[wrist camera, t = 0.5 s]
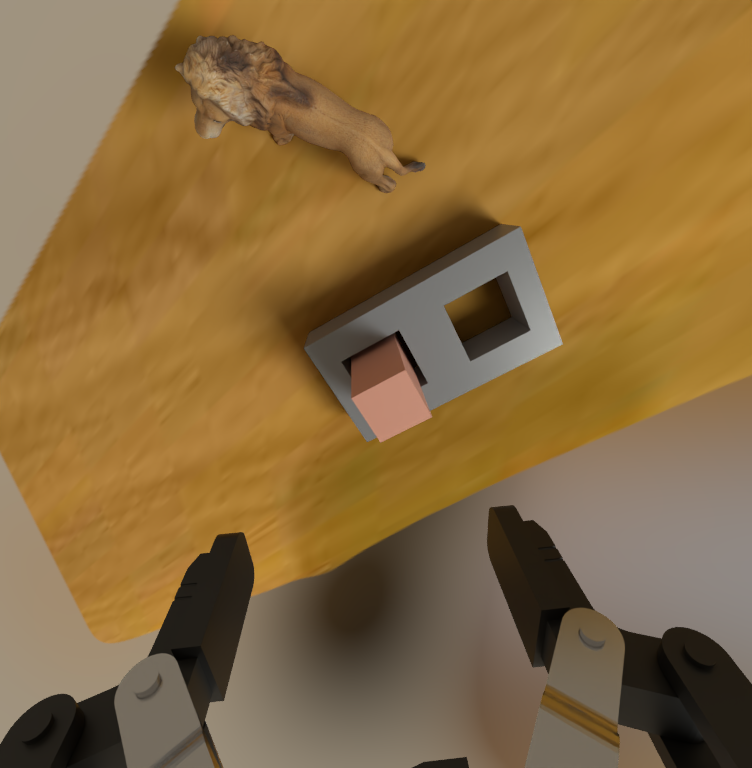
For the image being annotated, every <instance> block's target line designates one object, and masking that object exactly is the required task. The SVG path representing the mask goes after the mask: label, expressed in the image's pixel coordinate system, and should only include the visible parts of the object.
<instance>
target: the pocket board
mask: <svg viewBox="0 0 752 768" xmlns="http://www.w3.org/2000/svg"><path fill="white" fill-rule="evenodd" d="M494 278H496V279H497V282H498V284H499V287H500V289H501V292H502V294H503V297H504V299H505V301H506V304H507V306H508V309H509V311H510V314H511V316H512V317H511V318H509V319H507V320H505V321H503V322H501V323H500V324H498V325H496V326H494V327H492V328H490V329H488V330H486V331H484V332H482V333H480V334H479V335H477V336H475V337H473V338H471V339H469V340H467V341H465V342H463V343H461V341H460V339H459V337H458V335H457V333H456V331H455V328H454V326H453V324H452V322H451V320H450V318H449V316H448V314H447V312H446V310H445V308H444V305H446V304H448V303H450V302H452V301H453V300H455V299H457V298H459V297H461V296H463V295H464V294H466V293H468V292H470V291H472V290H474V289H475V288H477V287H479V286H481V285H483V284H485V283H486V282H488V281H490V280H492V279H494ZM398 330H399V331H400V333H401V335H402V336H403V338H404V340H405V342H406V344H407V345H408V347H409V349H410V351H411V353H412V355H413V356H414V358H415V360H416V362H417V364H418V366H417V367H415V368H414V370H415V373H416V376H417V378H418V381H419V384H420V386H421V389H422V392H423V394H424V397H425V400H426V402H427V405H428V407H429V410H432V409H434V408H436V407H438V406H440V405H442V404H444V403H446V402H448V401H450V400H452V399H454V398H456V397H458V396H460V395H462V394H464V393H466V392H468V391H470V390H472V389H474V388H476V387H478V386H480V385H482V384H484V383H486V382H488V381H490V380H492V379H494V378H496V377H498V376H500V375H502V374H504V373H506V372H508V371H510V370H512V369H514V368H516V367H518V366H520V365H522V364H524V363H526V362H528V361H530V360H532V359H534V358H536V357H538V356H540V355H542V354H544V353H546V352H548V351H550V350H552V349H554V348H556V347H558V346H560V345H562V344H563V343H562V340H561V338H560V335H559V332H558V329H557V326H556V324H555V321H554V318H553V315H552V313H551V310H550V307H549V304H548V301H547V299H546V296H545V293H544V290H543V287H542V285H541V282H540V279H539V276H538V273H537V271H536V268H535V265H534V262H533V260H532V257H531V254H530V251H529V248H528V246H527V243H526V240H525V237H524V234H523V232H522V229H521V227H520V226H513V225H505V224H500V225H498V226H496V227H495V228H493V229H491V230H489V231H488V232H486V233H484V234H482V235H481V236H479V237H477V238H475V239H473V240H472V241H470V242H468V243H466V244H465V245H463V246H461V247H459V248H458V249H456V250H454V251H452V252H451V253H449V254H447V255H445V256H443V257H442V258H440V259H438V260H436V261H435V262H433V263H431V264H429V265H428V266H426V267H424V268H422V269H421V270H419V271H417V272H415V273H413V274H412V275H410V276H408V277H406V278H405V279H403V280H401V281H399V282H398V283H396V284H394V285H392V286H391V287H389V288H387V289H385V290H383V291H382V292H380V293H378V294H376V295H375V296H373V297H371V298H369V299H368V300H366V301H364V302H362V303H361V304H359V305H357V306H355V307H354V308H352V309H350V310H348V311H346V312H345V313H343V314H341V315H339V316H338V317H336V318H334V319H332V320H331V321H329V322H327V323H325V324H324V325H322V326H320V327H318V328H316V329H315V330H313V331H311V332H309V334H308V337H307V340H306V343H305V346H304V349H305V351H306V352H307V354H308V355H309V357H310V358H311V360H312V361H313V363H314V364H315V366H316V367H317V369H318V370H319V372H320V373H321V375H322V376H323V377H324V379H325V380H326V382H327V383H328V385H329V386H330V388H331V389H332V391H333V392H334V394H335V395H336V397H337V398H338V400H339V401H340V403H341V404H342V406H343V407H344V409H345V410H346V411H347V413H348V414H349V416H350V417H351V419H352V420H353V422H354V423H355V425H356V426H357V428H358V429H359V431H360V432H361V434H362V435H363V437H364V438H365V440H366V441H367V442H368V441H370V440H372V439H374V438H376V435H375V434H374V432H373V431H372V429H371V427H370V426H369V424H368V423H367V421H366V420H365V418H364V417H363V415H362V414H361V412H360V411H359V409H358V408H357V406H356V405H355V403H354V402H353V400H352V399H351V359H350V357H351V356H352V355H354V354H356V353H358V352H360V351H362V350H363V349H365V348H367V347H369V346H371V345H373V344H374V343H376V342H378V341H380V340H382V339H384V338H385V337H387V336H389V335H391V334H393V333H395V332H396V331H398Z"/></svg>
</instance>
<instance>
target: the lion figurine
mask: <svg viewBox="0 0 752 768" xmlns="http://www.w3.org/2000/svg"><path fill="white" fill-rule="evenodd" d="M175 69H176V70H177V71H178V72H180V73H181V75H182V76H183V78H184V79H185V81H186V82H187V83H188V84H189V85H190V86H191V98H192V101H193V103H194V104H195V106H196V107H197V111H196V114H195V129H196V131H197V133H198V134H199V135H200V136H201V137H202V138H205V139H209V138H216V137H218V136H219V135H220V133H221V130H222V128H223V127H224V125H225V124H226V123H227V122H229V121H235V122H236V123H238V124H240V125H243V126H248V125H251V126H252V127H254V128H257V129H260V130H268V131H269V132H270V133H272V134H273V138H274V140H275V141H276V142H277V144H278V145H284V144H286V143H288V142H290V141H291V139H292V137H293V136H294V135H295V136H297V137H299V138H301V139H303V140H305V141H307V142H309V143H312V144H315V145H318V146H321V147H324V148H327V149H331V150H336V151H340V152H343V153H344V154H346V156H347V157H348V159H349V161H350V164H351V166H352V168H353V169H354V171H355V172H356V173H358V174H359V175H360V176H361V178H363V179H364V180H366V181H368V182H370V183H373V184H376V185H378V188H379V190H380V191H381V192H384V193H390V192H392V191H393V190H394V189H395V187H396V182H395V181H394V180H393V179H391V178H390V177H388V176H385V175H383V172H384V168H385V167H388V168H390V169H393V170H394V171H395V172H396V173H397V174H399V175H401V176H402V175H405V174H407V173H409V172H411V171H412V172H417V171H422V170H423V169H424V168H425V163H422V162H411V163H409V164H408V165H405V166H402V164H401V163H400V162H399V160H398V159H397V157H396V156H395V154H394V153H393V152H392V149H393V138H392V135H391V132H390V130H389V128H388V127H387V125H386V124H385V123H384V122H383V121H381V120H380V119H379V118H378V117H376V116H374V115H370V114H368V113H365V112H363V111H359V110H357V109H355V108H353V107H352V106H350V105H349V104H347V103H346V102H345V101H343V100H342V99H341V98H340V97H338V96H337V95H335V94H334V93H333V92H331V91H330V90H329V89H327V88H326V87H325V86H323V85H322V84H320V83H318V82H316V81H315V80H313V79H311V78H309V77H307V76H304V75H301V74H299V73H296V72H295V71H294V70H293V69H292V68H291V66H289V65H288V64H287V63H285V62H284V61H283V60H282V58H281V56H280V55H279V53H278V52H277V51H276V50H275V49H274V48H271V47H269V46H267V45H265V44H264V42H259V43H254V42H250V41H247V40H245V39H243V40H239V39H237V37H236V36H234V35H232V36H229V37H228V38H226V37H219V38H218V39H217V38H216V37H215V36H209V37H202V36H198V38H197V39H196V44H193V45H191V46H190V47H189V48H188V51H187V53H186V56H185V58H184V61H183V63H179V64H177V65H176V66H175Z"/></svg>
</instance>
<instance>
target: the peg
mask: <svg viewBox="0 0 752 768" xmlns="http://www.w3.org/2000/svg"><path fill="white" fill-rule="evenodd" d="M351 399H352V400H353V402H354V403H355V405H356V406H357V408H358V409H359V411H360V412H361V414H362V415H363V417H364V418H365V420H366V421H367V423H368V424H369V426H370V427H371V429H372V431H373V432H374V434H375V435H376V437H377V438H378V440H379V441H380V443H381V442H383V441H385V440H387V439H389V438H391V437H393V436H395V435H397V434H399V433H401V432H403V431H405V430H407V429H409V428H411V427H413V426H415V425H417V424H419V423H421V422H423V421H425V420H427V419H429V418H431V417H432V415H431V413H430V410H429V407H428V405H427V402H426V400H425V397H424V394H423V392H422V389H421V386H420V384H419V381H418V378H417V376H416V373H415V370H414V368H413V365H412V362H411V361H410V359H409V357H408V355H407V353H406V352H405V350H404V348H403V346H402V344H401V343H400V341H399V339H398V337H397V335H396V334H395V333H393V334H391V335H389V336H387V337H385V338H384V339H382V340H380V341H378V342H376V343H374V344H373V345H371V346H369V347H367V348H365V349H363V350H362V351H360V352H358V353H356V354H354V355H352V356H351Z"/></svg>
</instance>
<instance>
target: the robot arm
mask: <svg viewBox="0 0 752 768" xmlns="http://www.w3.org/2000/svg"><path fill="white" fill-rule="evenodd" d="M487 546H488V553H489V557H490V561H491V563H492V566H493V568H494V571H495V573H496V576H497V578H498V581H499V584H500V586H501V589H502V591H503V594H504V596H505V599H506V601H507V604H508V606H509V609H510V611H511V614H512V616H513V619H514V622H515V624H516V627H517V629H518V632H519V634H520V637H521V639H522V641H523V644H524V647H525V649H526V652H527V654H528V657H529V659H530V662H531V664H532V667H541V666H545V667H546V670H547V672H548V674H549V675H548V679H547V684H546V687H545V691H544V693H543V696H542V700H541V704H540V708H539V712H538V716H537V720H536V724H535V728H534V732H533V736H532V740H531V744H530V748H529V752H528V757H527V760H526V764H525V768H618V758H619V745H620V743H619V742H620V739H619V734H618V733H617V726H618V724H620V725H623V726H627V727H631V728H634V729H639V730H642V731H646V732H648V734H649V736H650V738H651V740H652V742H653V743H654V746H655V748H656V750H657V752H658V754H659V756H660V757H661V759H662V761H663V763H664V765H665V767H666V768H752V684H751V683H750V682H749V680H748V679H747V678H746V676H745V675H744V674H743V673H742V671H741V670H740V669H739V667H738V666H737V665H736V664H735V662H734V661H733V660H732V658H731V657H730V656H729V655H728V654H727V652H726V651H725V650H724V649H723V648H722V647H721V646H720V645H719V644H717V643H716V642H715V641H713V640H712V639H711V638H709V637H707V636H706V635H704V634H701V633H700V632H698V631H695V630H692V629H689V628H684V627H675V628H671V629H668V630H667V631H666V632H665V633H664V635H663V637H662V639H661V638H655V637H651V636H646V635H641V634H636V633H632V632H628V631H625V630H622V629H620V628H618V627H616V625H615V624H614V623H613V622H612V621H611V620H609V619H608V618H607V617H606V616H604V615H602V614H601V613H599V612H597V611H595V610H594V609H593V607H592V606H591V604H590V602H589V601H588V599H587V598H586V596H585V594H584V593H583V591H582V589H581V588H580V586H579V584H578V583H577V581H576V579H575V578H574V576H573V574H572V573H571V571H570V569H569V568H568V566H567V564H566V563H565V561H563V559H562V556H561V555H560V553H559V551H558V550H557V549H556V547H555V544H554V543H553V541H552V539H551V538H550V536H549V535H548V533H547V532H546V531H545V530H544V529H543V528H542V527H541V526H539V525H538V524H537V523H536V522H535V521H533V520H531V521H523V520H522V518H521V517H520V515H519V513H518V511H517V509H516V508H515V507H514V506H513V505H510V506H500V507H491V508H490V509H489V519H488V535H487ZM253 584H254V566H253V562H252V559H251V555H250V552H249V548H248V545H247V542H246V538H245V535H244V533H242V532H239V533H229V534H219V535H218V536H217V537H216V539H215V541H214V543H213V546H212V548H211V551H210V553H203V554H200V555H199V556H198V557H197V558H196V560H195V561H194V562H193V563H192V564H191V565H190V566H189V568H188V569H187V571H186V573H185V576H184V578H183V580H182V582H181V587H180V588H179V589H178V591H177V593H176V596H175V600H174V601H173V602H172V605H171V607H170V609H169V611H168V614H167V616H166V618H165V620H164V623H163V625H162V627H161V629H160V631H159V634H158V636H157V638H156V640H155V643H154V645H153V647H152V649H151V652H150V653H149V656H148V657H147V658H145V659H144V660H142V661H140V662H139V663H138V664H136V665H135V666H134V667H133V668H132V669H131V670H130V671H129V672H128V673H127V674H126V675H125V677H124V678H123V679H122V681H121V683H120V684H119V685H118V686H116V687H113V688H111V689H109V690H107V691H105V692H102V693H100V694H98V695H95V696H93V697H91V698H88V699H86V700H84V701H81V702H79V703H76V701H75V700H74V699H73V698H72V697H71V696H70V695H67V694H57V695H53V696H51V697H48V698H46V699H44V700H42V701H40V702H38V703H37V704H35V705H34V706H33V707H31V708H30V709H29V710H27V711H26V712H25V713H24V714H23V715H22V716H21V717H20V718H19V719H18V720H17V721H16V722H15V723H14V725H13V726H12V727H11V728H10V730H9V731H8V733H7V734H6V736H5V738H4V739H3V741H2V742H1V744H0V768H223V765H222V763H221V760H220V758H219V755H218V752H217V750H216V747H215V745H214V742H213V740H212V737H211V734H210V732H209V729H208V726H207V724H206V721H205V718H206V714H207V710H208V707H209V703H210V702H216V701H224V698H225V694H226V690H227V686H228V682H229V679H230V674H231V671H232V667H233V663H234V659H235V655H236V651H237V647H238V643H239V639H240V635H241V631H242V628H243V624H244V620H245V615H246V612H247V608H248V604H249V600H250V596H251V592H252V588H253ZM413 768H469V766H468V761H467V757H463V758H456V759H447V760H438V761H429V762H423V763H421V764H419V765H417V766H415V767H413Z"/></svg>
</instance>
